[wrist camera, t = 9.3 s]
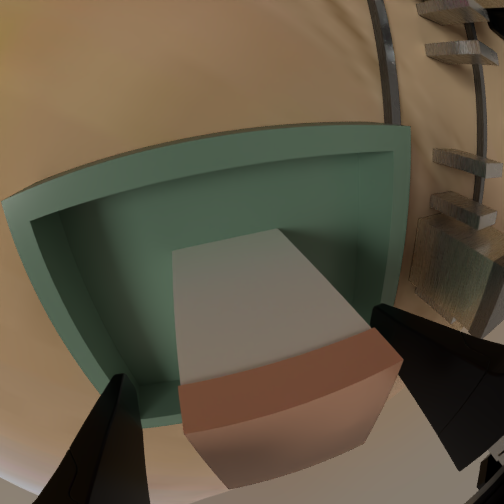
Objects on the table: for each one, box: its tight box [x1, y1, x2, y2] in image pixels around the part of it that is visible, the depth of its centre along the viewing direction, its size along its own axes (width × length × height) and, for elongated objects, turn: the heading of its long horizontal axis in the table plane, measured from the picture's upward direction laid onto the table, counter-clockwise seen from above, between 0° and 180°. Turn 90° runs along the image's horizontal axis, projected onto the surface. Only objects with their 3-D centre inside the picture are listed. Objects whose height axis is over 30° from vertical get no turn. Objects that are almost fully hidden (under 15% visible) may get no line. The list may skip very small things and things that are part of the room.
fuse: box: [172, 228, 403, 489], centre depth 9 cm, size 5×5×8 cm
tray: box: [1, 122, 411, 429], centre depth 12 cm, size 15×13×3 cm
